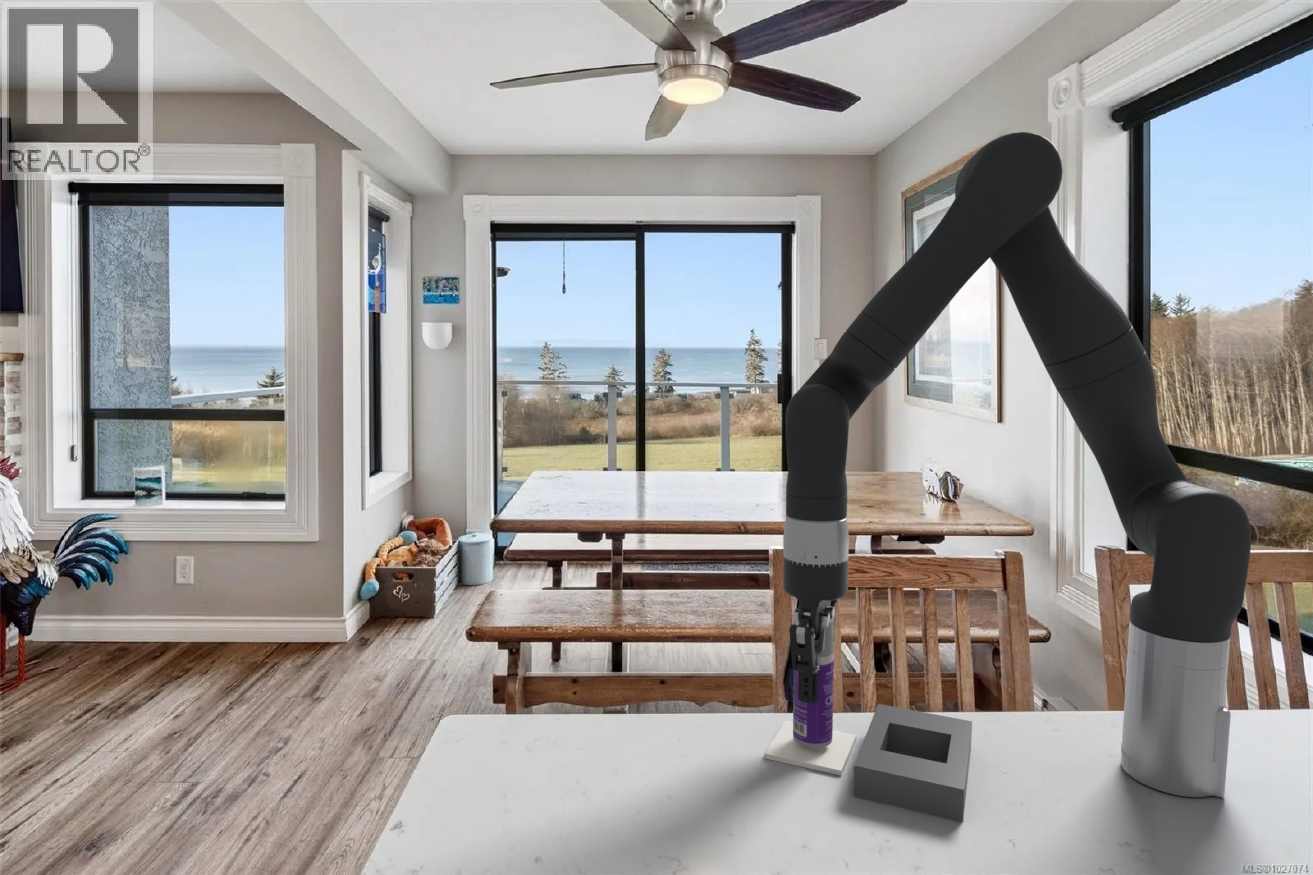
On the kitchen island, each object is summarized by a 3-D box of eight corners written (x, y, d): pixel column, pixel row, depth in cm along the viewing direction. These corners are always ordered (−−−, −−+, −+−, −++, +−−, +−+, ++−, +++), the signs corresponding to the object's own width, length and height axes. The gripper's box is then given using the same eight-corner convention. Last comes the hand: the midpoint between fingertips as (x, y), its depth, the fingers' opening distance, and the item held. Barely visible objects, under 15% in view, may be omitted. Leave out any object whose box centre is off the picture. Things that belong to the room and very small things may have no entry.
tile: (856, 739, 94) (856, 735, 94) (841, 775, 86) (841, 770, 86) (785, 725, 98) (785, 720, 98) (764, 758, 90) (764, 753, 90)
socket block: (970, 748, 92) (972, 721, 91) (962, 822, 77) (964, 789, 77) (877, 730, 96) (878, 703, 96) (853, 796, 82) (854, 765, 82)
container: (832, 749, 89) (835, 626, 87) (792, 746, 90) (793, 623, 88) (831, 730, 94) (834, 612, 92) (793, 727, 95) (794, 610, 93)
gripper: (834, 572, 81) (831, 724, 83) (859, 543, 94) (856, 675, 96) (766, 565, 85) (765, 711, 86) (799, 537, 97) (798, 665, 99)
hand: (813, 691), depth 91 cm, fingers closed on container, 4 cm apart
